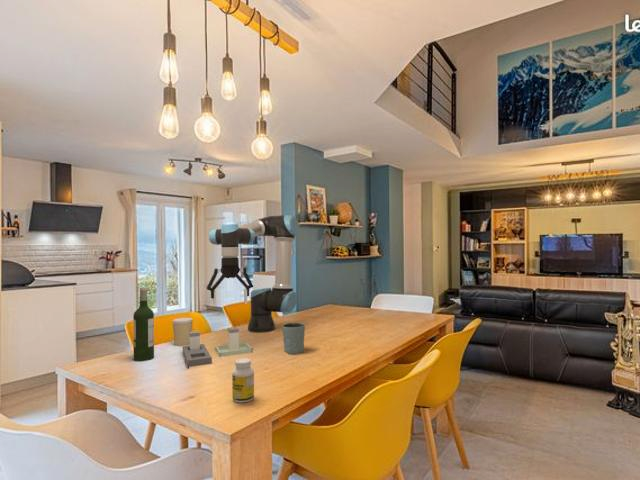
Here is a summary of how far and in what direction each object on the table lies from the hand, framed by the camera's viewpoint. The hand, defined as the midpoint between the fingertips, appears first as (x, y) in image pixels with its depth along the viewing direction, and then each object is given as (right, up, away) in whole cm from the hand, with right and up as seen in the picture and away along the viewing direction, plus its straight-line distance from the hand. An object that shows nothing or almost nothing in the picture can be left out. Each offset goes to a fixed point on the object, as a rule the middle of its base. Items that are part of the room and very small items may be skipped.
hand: (230, 304), depth 166 cm
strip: (-12, -21, -9) cm, 26 cm away
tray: (+2, -21, -1) cm, 21 cm away
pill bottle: (+17, -20, -52) cm, 58 cm away
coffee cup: (-27, -22, +16) cm, 38 cm away
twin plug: (-15, -21, -4) cm, 26 cm away
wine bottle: (-35, -22, -8) cm, 42 cm away
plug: (+2, -20, -1) cm, 20 cm away
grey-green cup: (+28, -21, -2) cm, 35 cm away
